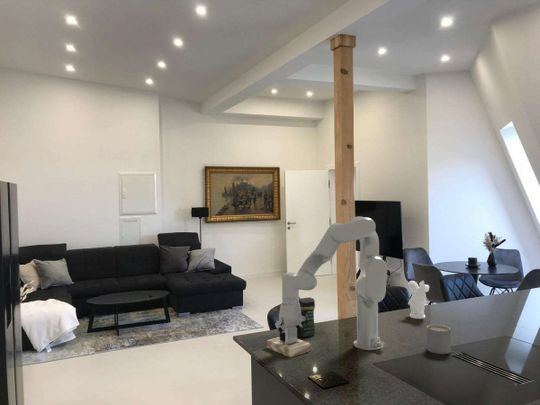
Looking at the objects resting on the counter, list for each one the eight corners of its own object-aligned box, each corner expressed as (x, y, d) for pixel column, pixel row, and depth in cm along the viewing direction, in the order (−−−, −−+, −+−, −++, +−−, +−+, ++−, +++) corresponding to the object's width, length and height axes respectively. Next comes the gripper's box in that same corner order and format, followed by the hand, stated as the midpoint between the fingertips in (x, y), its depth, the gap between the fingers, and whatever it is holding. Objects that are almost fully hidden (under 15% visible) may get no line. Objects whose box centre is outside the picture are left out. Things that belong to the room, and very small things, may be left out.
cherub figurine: (405, 315, 248) (404, 277, 248) (423, 313, 252) (422, 276, 252) (418, 320, 236) (417, 281, 236) (437, 318, 240) (436, 279, 240)
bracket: (297, 349, 192) (296, 327, 192) (288, 352, 189) (288, 330, 189) (289, 346, 197) (289, 325, 196) (280, 349, 194) (280, 327, 193)
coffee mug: (440, 355, 184) (440, 332, 184) (422, 348, 193) (421, 326, 193) (460, 349, 191) (460, 327, 191) (441, 343, 199) (441, 322, 199)
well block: (310, 351, 190) (310, 343, 190) (290, 357, 183) (290, 349, 183) (287, 341, 203) (286, 334, 203) (267, 347, 195) (267, 340, 195)
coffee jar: (301, 338, 207) (300, 300, 207) (293, 334, 215) (292, 297, 214) (317, 335, 212) (317, 298, 212) (309, 331, 219) (309, 295, 219)
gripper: (298, 296, 200) (299, 332, 200) (270, 302, 189) (270, 340, 189) (310, 299, 194) (310, 336, 194) (281, 305, 183) (281, 345, 183)
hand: (290, 338), depth 192 cm, fingers open, 9 cm apart
